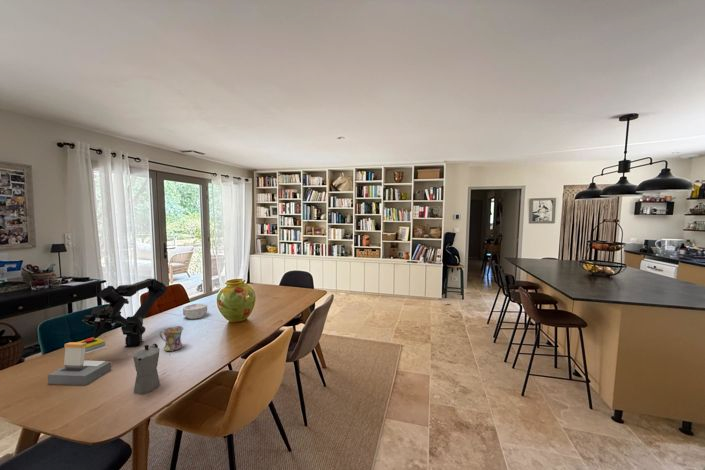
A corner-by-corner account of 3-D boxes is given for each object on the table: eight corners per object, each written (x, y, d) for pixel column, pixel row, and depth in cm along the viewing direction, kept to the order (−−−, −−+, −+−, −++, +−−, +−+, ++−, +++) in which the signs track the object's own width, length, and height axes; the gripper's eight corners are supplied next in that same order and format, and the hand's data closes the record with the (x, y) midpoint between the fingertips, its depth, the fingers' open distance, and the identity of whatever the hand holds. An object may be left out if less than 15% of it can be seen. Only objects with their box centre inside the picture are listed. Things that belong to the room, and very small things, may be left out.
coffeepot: (152, 395, 111) (152, 351, 110) (124, 398, 109) (124, 353, 108) (168, 375, 126) (168, 335, 125) (144, 377, 124) (144, 337, 123)
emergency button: (94, 334, 158) (107, 339, 151) (94, 341, 158) (108, 347, 151) (72, 340, 150) (85, 346, 143) (72, 348, 150) (85, 354, 143)
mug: (187, 345, 156) (187, 326, 155) (176, 352, 146) (176, 333, 146) (165, 344, 156) (165, 325, 155) (153, 352, 147) (153, 332, 146)
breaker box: (76, 368, 129) (76, 359, 129) (110, 370, 129) (110, 360, 128) (47, 383, 117) (47, 373, 117) (85, 385, 117) (85, 375, 116)
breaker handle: (68, 366, 123) (70, 342, 123) (84, 366, 123) (86, 342, 123) (62, 368, 120) (64, 344, 121) (79, 369, 120) (81, 344, 121)
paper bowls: (193, 312, 209) (193, 302, 208) (211, 314, 207) (211, 303, 206) (177, 319, 194) (177, 308, 193) (197, 321, 192) (197, 310, 191)
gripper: (85, 299, 135) (61, 330, 125) (122, 300, 135) (102, 331, 125) (100, 310, 144) (79, 340, 133) (136, 311, 143) (118, 341, 133)
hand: (94, 338), depth 131 cm, fingers closed
